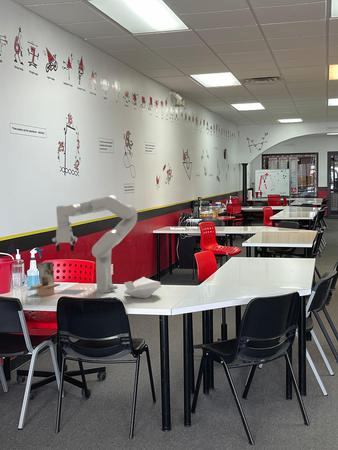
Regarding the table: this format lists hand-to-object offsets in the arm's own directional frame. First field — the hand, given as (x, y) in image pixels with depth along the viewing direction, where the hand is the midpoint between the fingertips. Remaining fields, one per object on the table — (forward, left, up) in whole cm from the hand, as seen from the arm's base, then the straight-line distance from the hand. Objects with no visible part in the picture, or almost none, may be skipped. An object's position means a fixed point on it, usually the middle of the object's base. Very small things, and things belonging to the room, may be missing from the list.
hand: (65, 251), depth 372 cm
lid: (+8, +14, -21) cm, 26 cm away
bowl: (+8, +14, -26) cm, 30 cm away
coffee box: (+24, -14, -26) cm, 38 cm away
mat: (-5, +5, -26) cm, 27 cm away
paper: (-55, +10, -26) cm, 61 cm away
